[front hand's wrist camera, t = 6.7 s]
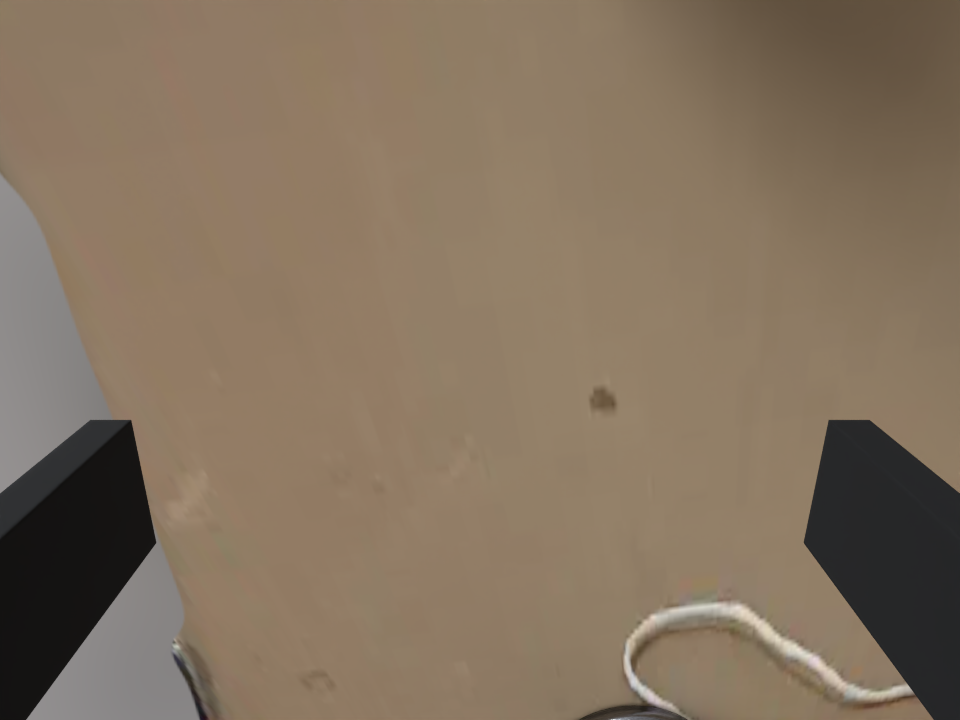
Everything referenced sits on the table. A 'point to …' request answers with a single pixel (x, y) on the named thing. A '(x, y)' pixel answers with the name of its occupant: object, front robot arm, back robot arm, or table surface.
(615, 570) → the table surface
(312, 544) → the table surface
